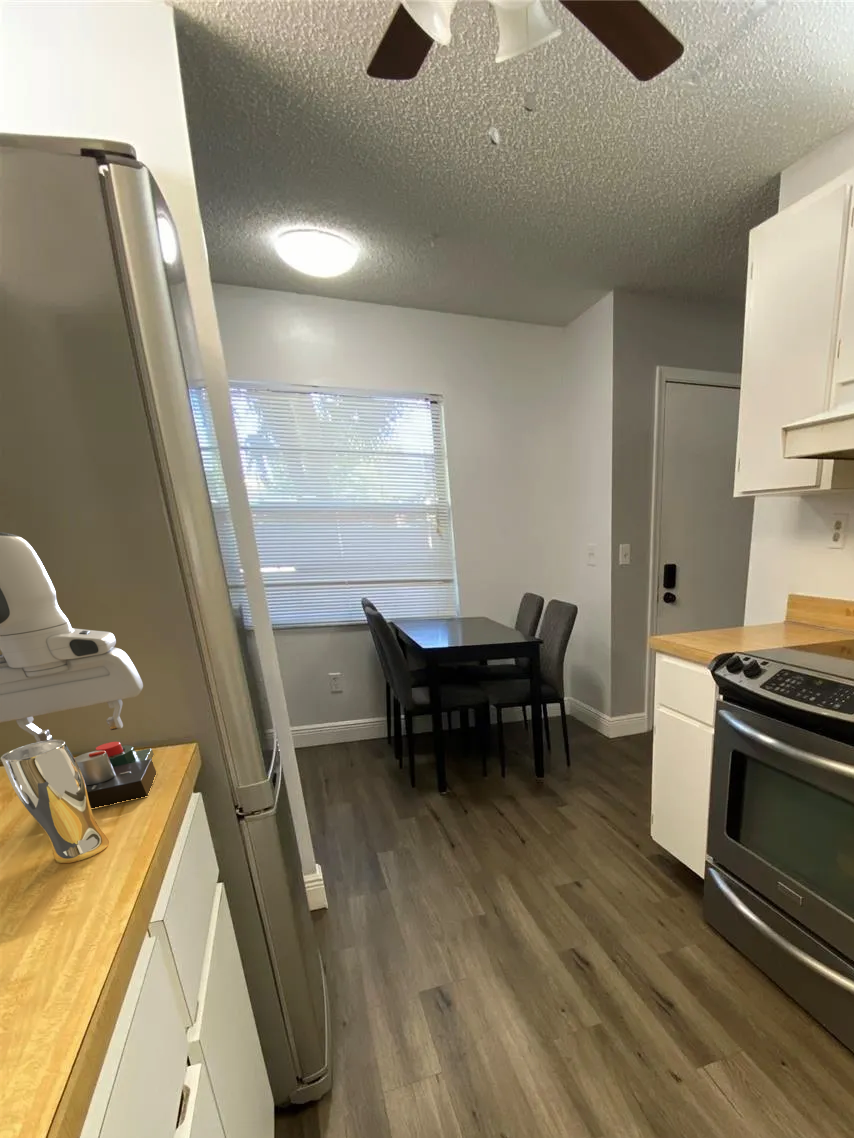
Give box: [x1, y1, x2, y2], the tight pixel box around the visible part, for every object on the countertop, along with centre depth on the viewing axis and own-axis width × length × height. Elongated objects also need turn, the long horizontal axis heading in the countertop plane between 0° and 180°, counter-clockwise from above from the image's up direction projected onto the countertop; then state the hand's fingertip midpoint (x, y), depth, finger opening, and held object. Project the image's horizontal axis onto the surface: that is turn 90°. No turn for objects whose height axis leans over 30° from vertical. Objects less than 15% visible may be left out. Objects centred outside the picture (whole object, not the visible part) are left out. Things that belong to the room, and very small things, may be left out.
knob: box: [74, 750, 116, 785], centre depth 100 cm, size 4×4×4 cm
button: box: [95, 741, 123, 757], centre depth 109 cm, size 4×4×2 cm
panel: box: [86, 759, 157, 808], centre depth 102 cm, size 13×10×3 cm
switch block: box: [108, 744, 155, 767], centre depth 110 cm, size 10×8×4 cm
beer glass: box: [0, 739, 110, 864], centre depth 83 cm, size 7×7×15 cm
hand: (82, 735), depth 98 cm, fingers open, 8 cm apart
